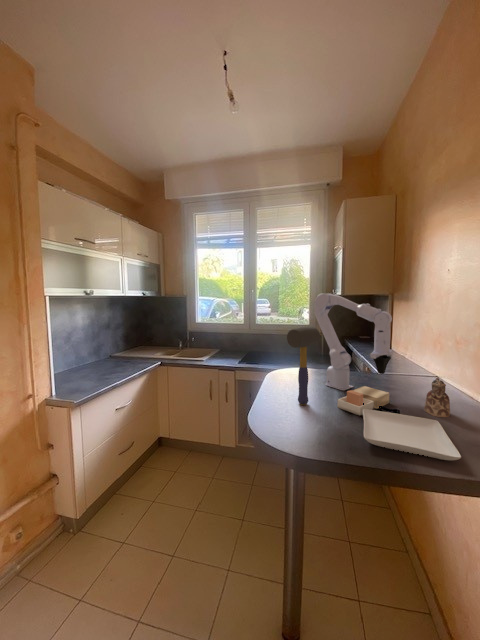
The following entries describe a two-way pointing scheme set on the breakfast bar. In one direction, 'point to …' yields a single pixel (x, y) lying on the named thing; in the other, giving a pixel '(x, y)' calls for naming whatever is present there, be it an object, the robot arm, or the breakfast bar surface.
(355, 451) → the breakfast bar surface
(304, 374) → the rubber mallet
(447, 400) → the figurine
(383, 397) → the beige bevelled block
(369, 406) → the tray
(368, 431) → the salad plate
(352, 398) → the terracotta-coloured block
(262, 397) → the breakfast bar surface
